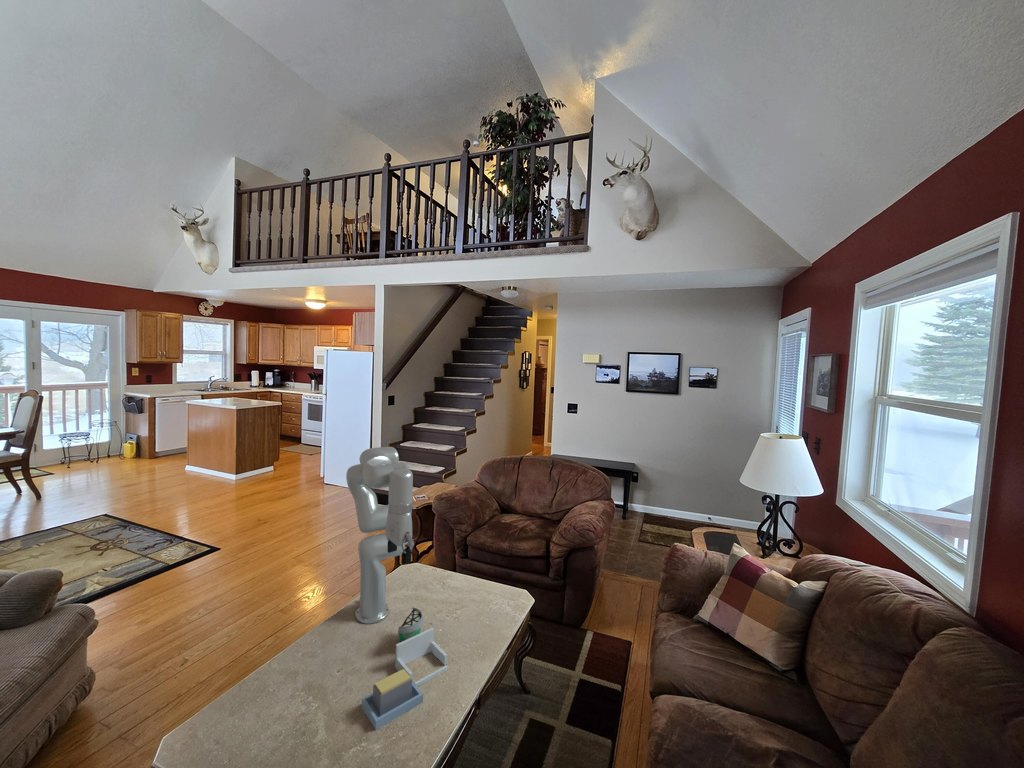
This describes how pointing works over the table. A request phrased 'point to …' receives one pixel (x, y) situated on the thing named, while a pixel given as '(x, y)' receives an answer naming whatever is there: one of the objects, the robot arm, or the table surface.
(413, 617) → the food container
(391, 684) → the yellow-topped block
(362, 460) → the robot arm
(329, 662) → the table surface
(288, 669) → the table surface
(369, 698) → the tray
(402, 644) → the bay
